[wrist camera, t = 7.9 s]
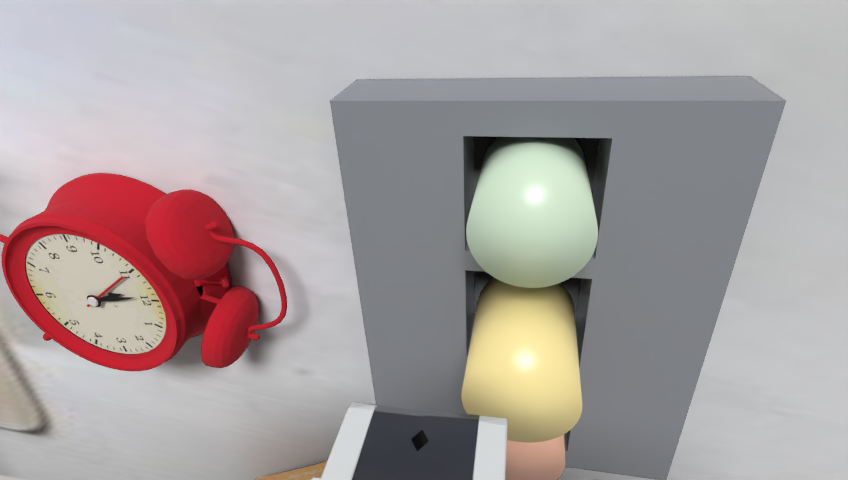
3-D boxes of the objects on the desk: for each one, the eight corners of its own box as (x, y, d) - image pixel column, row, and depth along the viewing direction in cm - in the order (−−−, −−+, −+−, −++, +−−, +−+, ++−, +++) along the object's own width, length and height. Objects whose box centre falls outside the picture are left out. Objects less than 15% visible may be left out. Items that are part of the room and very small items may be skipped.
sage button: (481, 214, 21) (467, 283, 17) (482, 121, 19) (465, 174, 15) (580, 218, 20) (590, 292, 16) (591, 122, 18) (606, 178, 14)
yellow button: (477, 341, 22) (462, 434, 18) (477, 267, 20) (460, 353, 16) (569, 350, 22) (575, 449, 17) (579, 274, 20) (588, 366, 15)
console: (395, 396, 29) (381, 440, 26) (357, 79, 20) (330, 100, 17) (654, 428, 26) (665, 480, 24) (750, 76, 17) (786, 100, 14)
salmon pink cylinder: (481, 395, 27) (469, 481, 23) (481, 339, 25) (468, 421, 20) (558, 404, 26) (561, 495, 22) (565, 347, 24) (569, 434, 20)
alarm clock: (-66, 204, 23) (154, 245, 17) (63, 155, 28) (271, 173, 22) (44, 367, 29) (242, 443, 22) (137, 302, 33) (321, 349, 27)
